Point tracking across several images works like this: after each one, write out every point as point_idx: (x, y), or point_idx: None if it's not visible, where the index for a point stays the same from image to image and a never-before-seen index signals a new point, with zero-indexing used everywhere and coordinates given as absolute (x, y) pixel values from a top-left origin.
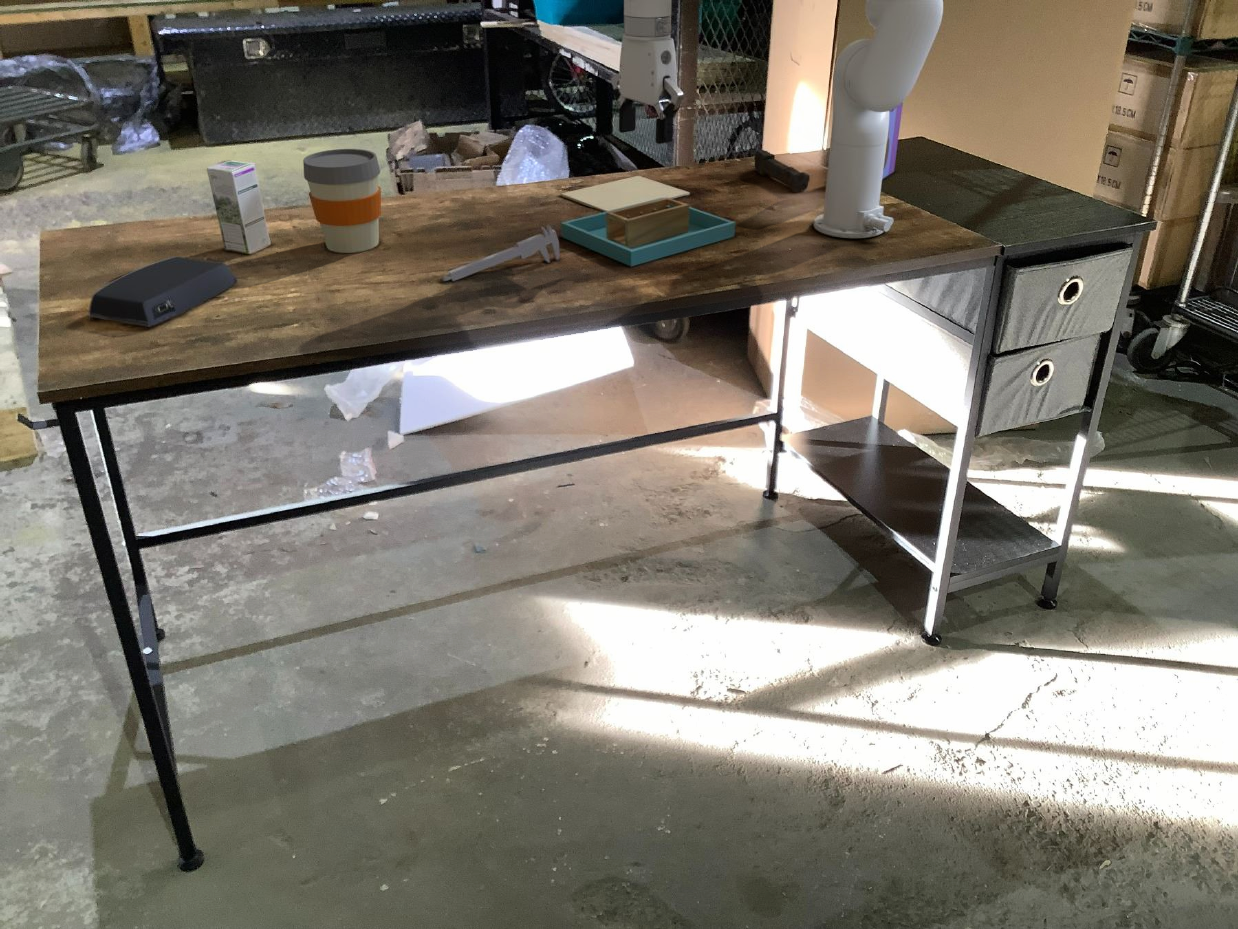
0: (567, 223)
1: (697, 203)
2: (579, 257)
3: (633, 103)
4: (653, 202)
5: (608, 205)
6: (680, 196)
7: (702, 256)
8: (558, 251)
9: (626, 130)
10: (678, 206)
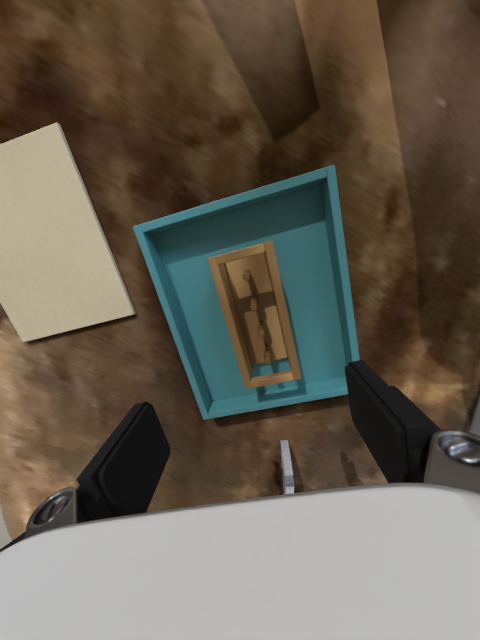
0: (210, 414)
1: (117, 138)
2: (286, 414)
3: (79, 500)
4: (227, 297)
5: (99, 303)
6: (70, 152)
7: (374, 274)
8: (288, 447)
9: (164, 438)
10: (272, 266)
